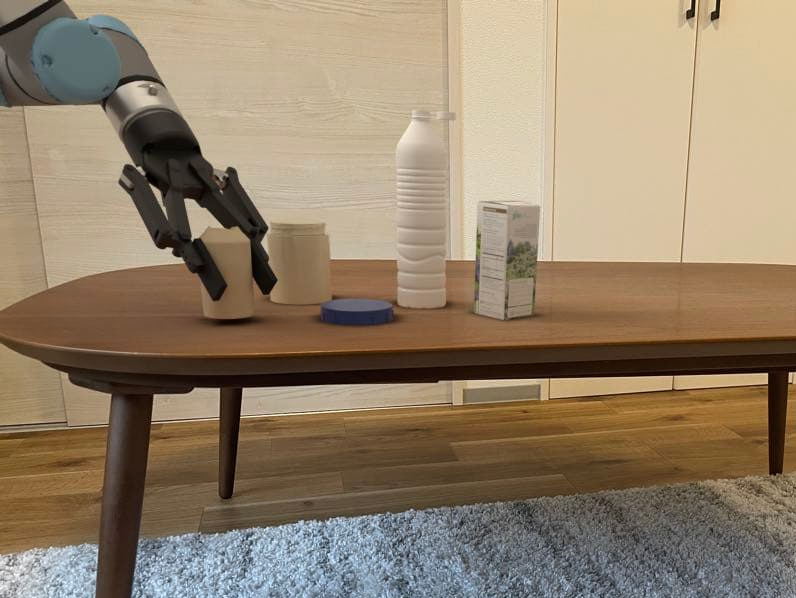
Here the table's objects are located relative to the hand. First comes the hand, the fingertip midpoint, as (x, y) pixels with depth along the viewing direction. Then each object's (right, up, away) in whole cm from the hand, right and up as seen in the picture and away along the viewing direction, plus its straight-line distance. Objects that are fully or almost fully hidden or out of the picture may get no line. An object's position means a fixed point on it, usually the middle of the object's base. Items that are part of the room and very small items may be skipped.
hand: (245, 290), depth 86 cm
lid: (+11, -1, +8) cm, 13 cm away
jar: (0, +1, +19) cm, 19 cm away
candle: (-3, -3, +3) cm, 5 cm away
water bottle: (+17, +1, +20) cm, 27 cm away
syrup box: (+28, -1, +15) cm, 32 cm away
